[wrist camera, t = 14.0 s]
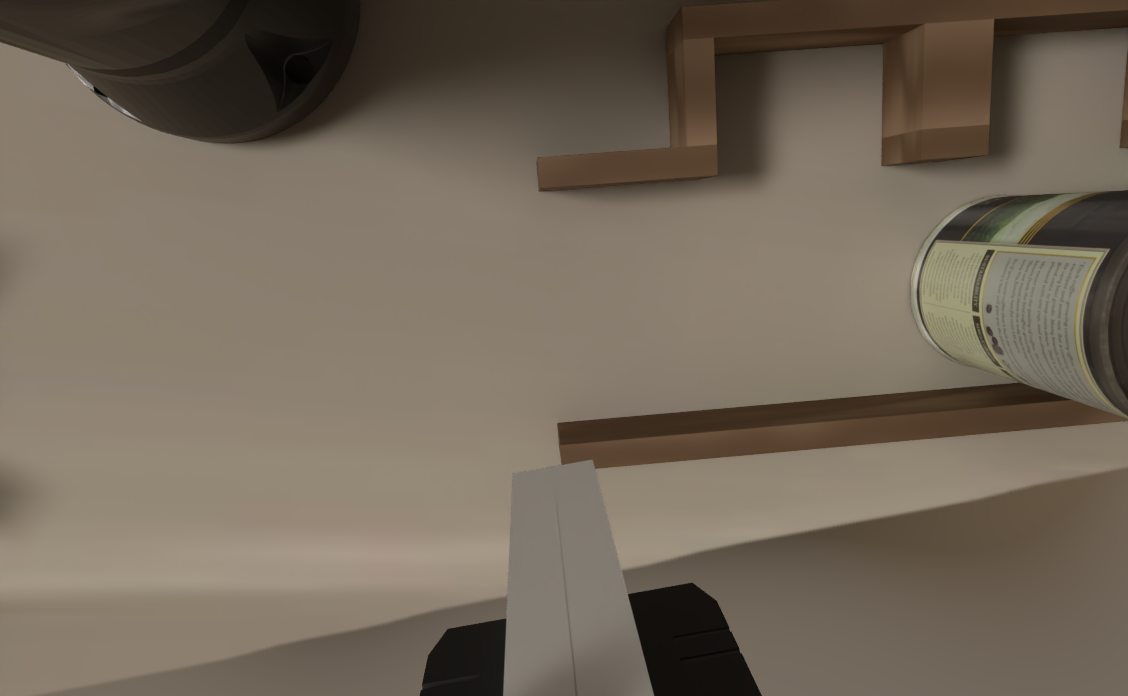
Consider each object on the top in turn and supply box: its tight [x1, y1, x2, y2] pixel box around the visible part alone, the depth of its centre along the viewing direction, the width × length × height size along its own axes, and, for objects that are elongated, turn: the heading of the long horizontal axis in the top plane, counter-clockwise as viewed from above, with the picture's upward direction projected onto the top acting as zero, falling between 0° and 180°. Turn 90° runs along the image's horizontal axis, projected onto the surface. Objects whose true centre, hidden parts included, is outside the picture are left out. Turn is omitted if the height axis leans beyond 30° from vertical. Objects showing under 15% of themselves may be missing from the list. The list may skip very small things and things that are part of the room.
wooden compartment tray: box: [537, 0, 1128, 469], centre depth 37 cm, size 23×36×5 cm, turn 94°
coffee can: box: [910, 190, 1128, 419], centre depth 33 cm, size 10×10×14 cm
